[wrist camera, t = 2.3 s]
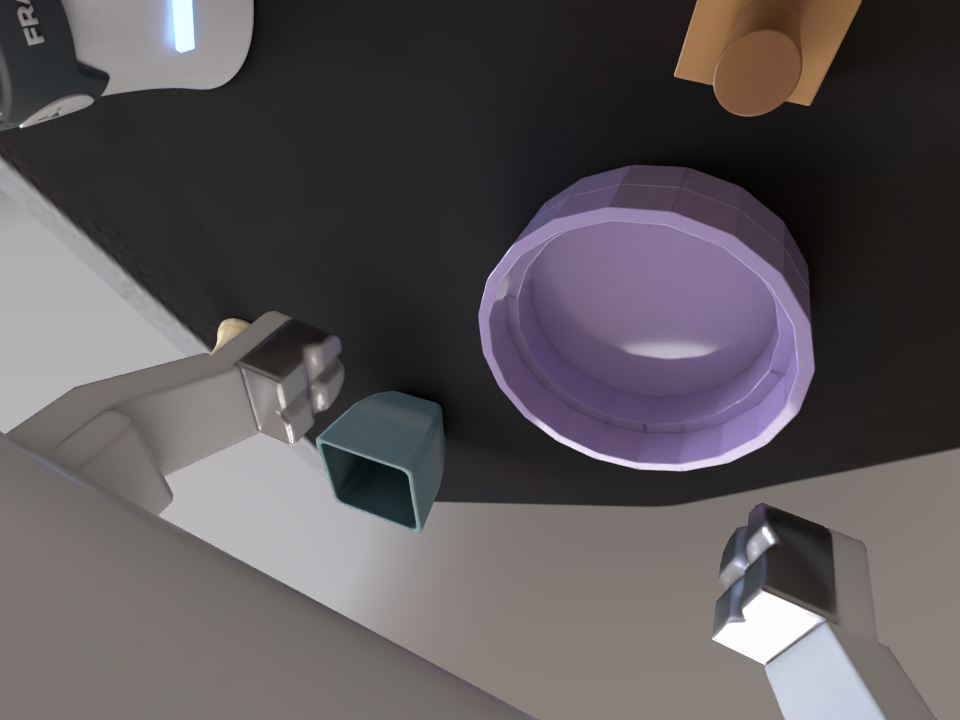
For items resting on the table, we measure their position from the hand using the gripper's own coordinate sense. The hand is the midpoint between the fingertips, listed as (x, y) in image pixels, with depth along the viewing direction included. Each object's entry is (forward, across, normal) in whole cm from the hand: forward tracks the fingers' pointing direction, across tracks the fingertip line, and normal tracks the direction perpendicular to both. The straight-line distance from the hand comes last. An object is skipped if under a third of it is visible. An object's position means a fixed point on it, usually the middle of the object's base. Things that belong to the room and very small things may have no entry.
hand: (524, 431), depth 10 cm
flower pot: (+23, +14, +31) cm, 41 cm away
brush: (+23, -2, -4) cm, 23 cm away
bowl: (+23, -1, +11) cm, 26 cm away
